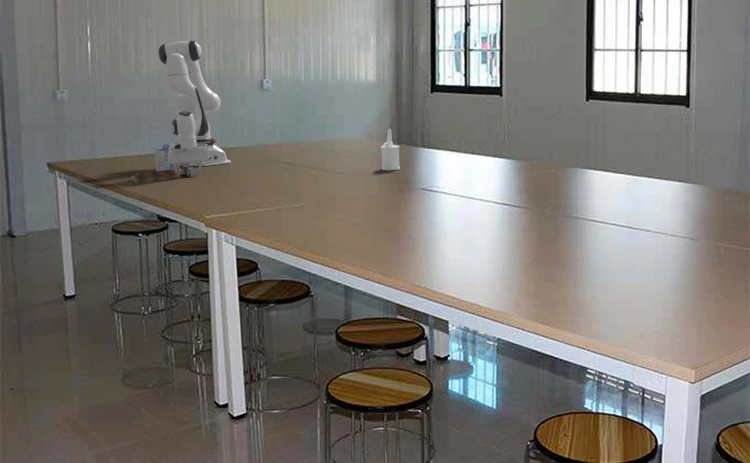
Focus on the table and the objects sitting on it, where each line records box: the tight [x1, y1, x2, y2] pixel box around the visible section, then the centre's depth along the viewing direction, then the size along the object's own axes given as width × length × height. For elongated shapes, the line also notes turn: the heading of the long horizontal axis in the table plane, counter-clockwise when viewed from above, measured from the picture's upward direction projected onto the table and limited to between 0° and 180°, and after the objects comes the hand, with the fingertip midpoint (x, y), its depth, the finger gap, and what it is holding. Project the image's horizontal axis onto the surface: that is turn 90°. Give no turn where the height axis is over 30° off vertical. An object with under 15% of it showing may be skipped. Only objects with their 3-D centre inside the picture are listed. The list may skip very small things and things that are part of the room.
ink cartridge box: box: [154, 144, 178, 174], centre depth 468 cm, size 10×6×14 cm, turn 63°
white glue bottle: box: [380, 128, 401, 171], centre depth 453 cm, size 10×9×20 cm
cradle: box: [130, 170, 181, 184], centre depth 449 cm, size 22×12×4 cm, turn 116°
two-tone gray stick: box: [182, 164, 198, 178], centre depth 458 cm, size 14×4×4 cm, turn 26°
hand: (189, 171), depth 458 cm, fingers open, 8 cm apart
